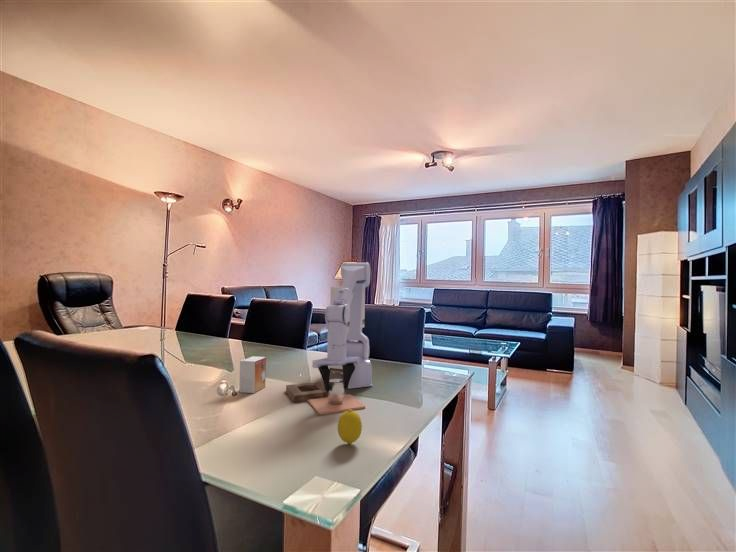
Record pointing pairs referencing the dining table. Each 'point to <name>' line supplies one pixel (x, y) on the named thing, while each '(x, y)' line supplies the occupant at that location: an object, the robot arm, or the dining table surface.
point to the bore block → (306, 391)
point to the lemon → (349, 426)
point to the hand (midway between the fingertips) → (336, 389)
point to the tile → (326, 408)
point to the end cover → (336, 391)
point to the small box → (252, 374)
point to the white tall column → (333, 290)
